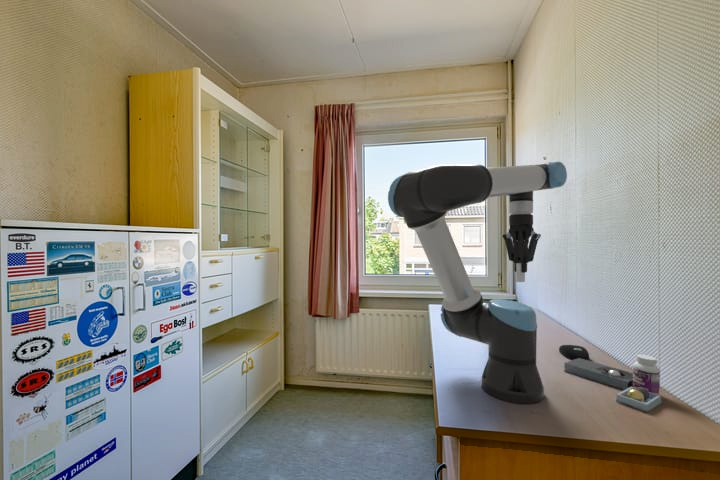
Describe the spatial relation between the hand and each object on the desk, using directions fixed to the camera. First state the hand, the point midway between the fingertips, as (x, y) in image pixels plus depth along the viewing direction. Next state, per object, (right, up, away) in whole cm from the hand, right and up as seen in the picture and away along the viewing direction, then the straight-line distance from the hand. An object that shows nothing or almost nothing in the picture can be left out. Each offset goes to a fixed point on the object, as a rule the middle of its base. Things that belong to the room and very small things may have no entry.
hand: (520, 281), depth 112 cm
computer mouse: (+20, -27, +1) cm, 34 cm away
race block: (+16, -26, -16) cm, 35 cm away
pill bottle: (+20, -27, -27) cm, 43 cm away
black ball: (+15, -24, -31) cm, 42 cm away
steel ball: (+17, -25, -19) cm, 36 cm away
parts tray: (+14, -26, -32) cm, 43 cm away
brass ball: (+12, -24, -33) cm, 42 cm away
